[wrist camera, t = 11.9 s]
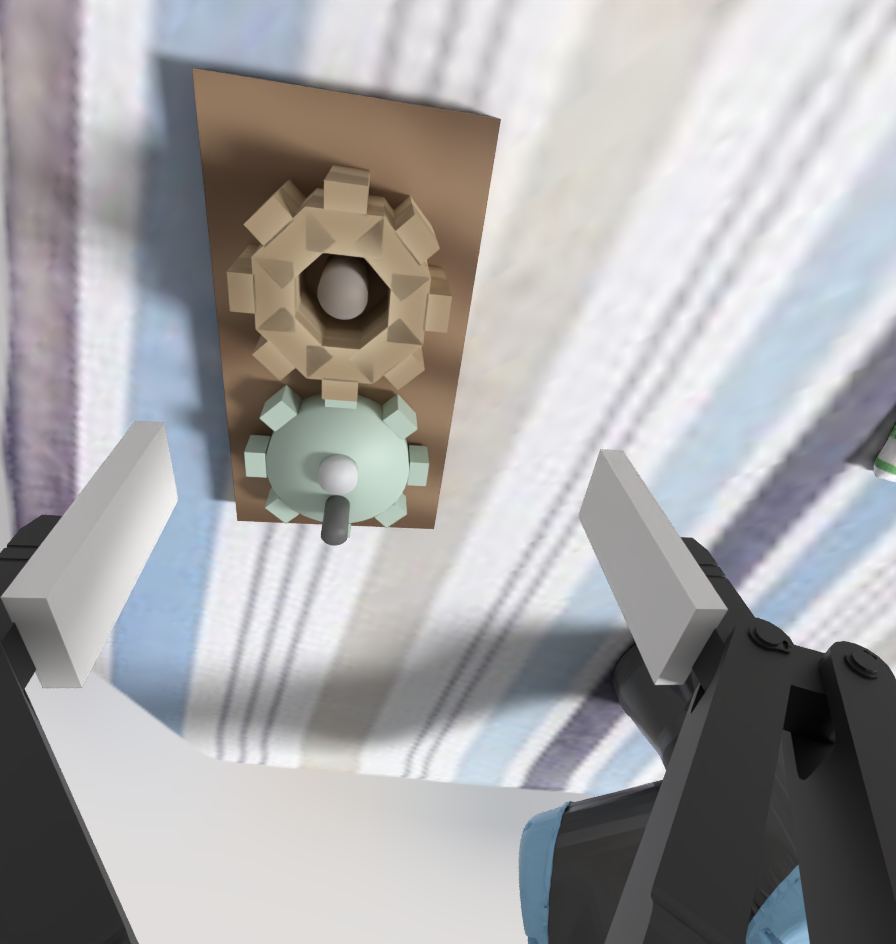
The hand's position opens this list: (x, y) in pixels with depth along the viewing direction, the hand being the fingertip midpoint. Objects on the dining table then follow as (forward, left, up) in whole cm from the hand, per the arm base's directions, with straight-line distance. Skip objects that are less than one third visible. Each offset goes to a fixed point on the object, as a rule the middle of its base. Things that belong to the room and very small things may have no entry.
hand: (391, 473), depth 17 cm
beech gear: (+1, +2, -17) cm, 17 cm away
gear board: (-4, +2, -19) cm, 19 cm away
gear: (-10, +2, -17) cm, 20 cm away
